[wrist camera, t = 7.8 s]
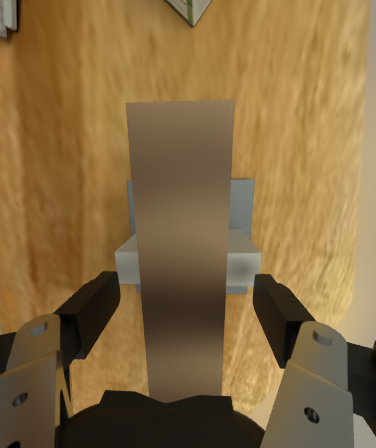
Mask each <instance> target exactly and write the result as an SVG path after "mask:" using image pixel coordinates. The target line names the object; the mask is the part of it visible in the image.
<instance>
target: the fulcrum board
mask: <svg viewBox="0 0 376 448" xmlns="http://www.w3.org/2000/svg"><path fill="white" fill-rule="evenodd" d="M254 183H255V179H237V180H231V190H230V212H229V234H228V256H227V278H226V294H246V291H247V286H254V278H255V274H260V265H261V254H262V253H261V252H260V251H259V250H258V248H257V247H256V246H255V245H254V244H253V243H252V242H251V240H250V237H251V223H252V210H253V196H254ZM127 189H128V200H129V212H130V223H131V234H132V237H131V238H130V239H129V240H127V241H126V242H125V243H124V244H123V245H122V246H121V247H119V248H118V249H117V250H116V251H115V260H116V269H117V273H118V277H119V284H136V290H137V292H141V286H140V273H139V261H138V249H137V236H136V224H135V212H134V199H133V187H132V181H127Z"/></svg>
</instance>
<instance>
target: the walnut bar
mask: <svg viewBox="0 0 376 448" xmlns="http://www.w3.org/2000/svg"><path fill="white" fill-rule="evenodd" d="M234 102H235V99H232V100H201V101H169V102H138V103H126V113H127V125H128V138H129V150H130V162H131V175H132V187H133V199H134V212H135V224H136V236H137V249H138V261H139V273H140V286H141V298H142V310H143V323H144V335H145V347H146V360H147V372H148V385H149V397H150V398H153V399H155V400H158V401H160V402H163V403H170V402H173V401H177V400H181V399H185V398H189V397H193V396H197V395H213V396H221V387H222V365H223V343H224V321H225V300H226V278H227V256H228V234H229V212H230V190H231V168H232V146H233V124H234Z"/></svg>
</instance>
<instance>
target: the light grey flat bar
mask: <svg viewBox="0 0 376 448" xmlns="http://www.w3.org/2000/svg"><path fill="white" fill-rule="evenodd" d="M6 27H7V28H9V29H11V30H17V21H16V0H0V36H1V37H4V38H7V36H6Z"/></svg>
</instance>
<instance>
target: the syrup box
mask: <svg viewBox="0 0 376 448" xmlns="http://www.w3.org/2000/svg"><path fill="white" fill-rule="evenodd" d="M166 1H167V2H168V3H169V4H170V5H171V6H172V7H173V8H174V9H175V10H176V11H177V12H178V13H179V14H181V15H182V16H183V17H184V18H185V19H186V21H188V22H189V23H190V24H191V25H192V26H194V25H195V24H196V23H197V21H198V20H199V18H200V17H201V15H202V14H203V12H204V11H205V9H206V8H207V6H208V5H209V3H210V2H211V0H166Z"/></svg>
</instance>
